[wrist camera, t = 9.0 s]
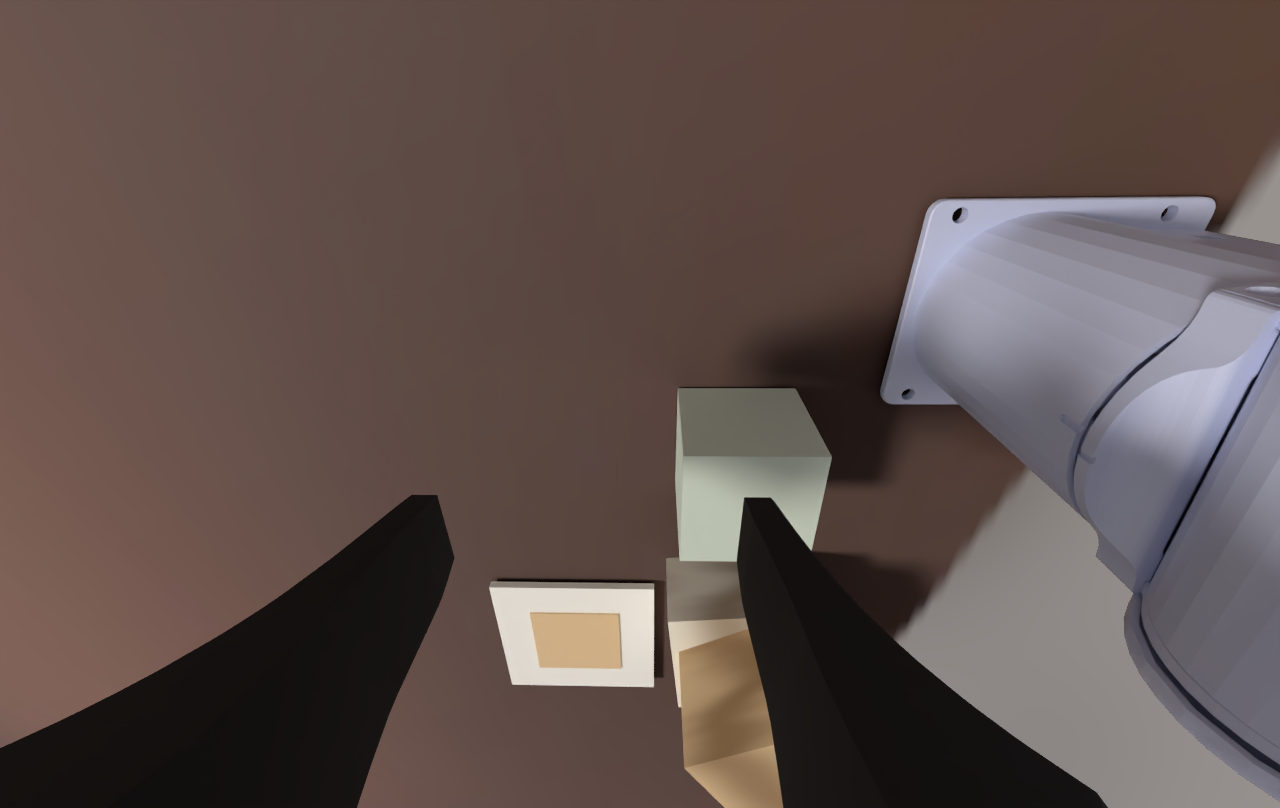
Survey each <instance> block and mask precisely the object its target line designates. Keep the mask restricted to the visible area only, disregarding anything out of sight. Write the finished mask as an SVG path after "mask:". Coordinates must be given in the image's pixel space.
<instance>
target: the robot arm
mask: <svg viewBox="0 0 1280 808" xmlns="http://www.w3.org/2000/svg"><path fill="white" fill-rule="evenodd" d="M1167 207H1168V210H1167V213H1166V214H1165V215H1164V216H1163V217H1162V218H1161V214H1162V212H1163V211H1164V210H1165V209H1166V208H1167ZM958 208H961V209H962V214H961V216H960V218H959V219H957V220H956V221H953V220H952V215H953V213H954V211H956V210H957V209H958ZM1215 208H1216V204H1215V201H1214V200H1213V199H1212V198H1208V197H1201V196H1158V197H1057V198H956V199H940V200H938V201H936V202H934V203H933V204H932V205H931V206H930V207H929V208H928V210H927V213H926V216H925V219H924V223H923V227H922V231H921V235H920V239H919V243H918V246H917V250H916V254H915V258H914V262H913V266H912V270H911V274H910V277H909V281H908V285H907V289H906V293H905V297H904V301H903V304H902V308H901V312H900V316H899V320H898V324H897V328H896V331H895V335H894V339H893V343H892V347H891V351H890V355H889V359H888V362H887V366H886V370H885V374H884V378H883V382H882V386H881V389H880V395H881V397H882V399H883V400H884V401H885V402H887V403H888V404H959V405H960V406H961V407H962V408H963V409H964V410H966V411H967V412H968V413H969V414H970V415H971V416H972V417H973V418H974V419H975V420H976V421H978V422H979V423H980V424H981V425H982V426H983V427H984V428H985V429H986V430H987V431H989V432H990V433H991V434H992V435H993V436H994V437H995V438H996V439H997V440H998V441H1000V442H1001V443H1002V444H1003V445H1004V446H1005V447H1006V448H1007V449H1008V450H1009V451H1011V452H1012V453H1013V454H1014V455H1015V456H1016V457H1017V458H1018V459H1019V460H1020V461H1021V462H1023V463H1024V464H1025V465H1026V466H1027V467H1028V468H1029V469H1030V470H1031V471H1032V472H1034V473H1035V474H1036V475H1037V476H1038V477H1039V478H1040V479H1041V480H1043V482H1045V483H1046V484H1047V485H1048V486H1049V487H1050V488H1051V489H1052V490H1053V491H1054V492H1056V493H1057V494H1058V495H1059V496H1060V497H1061V498H1062V499H1063V500H1064V501H1065V502H1066V503H1068V504H1069V505H1070V506H1071V507H1072V508H1073V509H1074V510H1075V511H1076V512H1077V513H1079V514H1080V515H1081V516H1082V517H1083V518H1084V519H1085V520H1086V521H1087V522H1088V523H1090V525H1091V526H1092V527H1093V528H1094V530H1095V531H1096V533H1097V535H1098V539H1099V546H1098V550H1097V553H1096V557H1097V558H1098V559H1099V560H1100V561H1101V562H1102V563H1103V564H1104V565H1105V566H1106V567H1107V568H1108V569H1109V570H1110V571H1112V573H1113V574H1114V575H1116V577H1118V578H1119V579H1120V580H1121V581H1122V582H1123V583H1124V584H1125V585H1126V586H1127V587H1128V588H1129V589H1130V590H1131V591H1132V592H1133V593H1134V594H1133V596H1132V598H1131V600H1130V602H1129V603H1128V606H1127V610H1126V613H1125V616H1124V635H1125V639H1126V643H1127V646H1128V650H1129V653H1130V656H1131V658H1132V659H1133V661H1134V663H1135V665H1136V667H1137V669H1138V671H1139V673H1140V675H1141V676H1142V678H1143V679H1144V681H1145V682H1146V683H1147V685H1148V686H1149V688H1150V689H1151V690H1152V692H1153V693H1154V695H1155V696H1156V697H1157V699H1158V700H1159V701H1160V702H1161V703H1162V704H1163V705H1164V706H1165V708H1166V709H1167V710H1168V711H1169V712H1170V713H1171V714H1172V715H1173V716H1174V717H1175V719H1176V720H1177V721H1178V722H1179V723H1180V724H1181V725H1182V726H1183V727H1184V728H1185V729H1186V730H1188V731H1189V732H1190V733H1191V734H1192V735H1193V736H1194V737H1195V738H1196V739H1197V740H1198V741H1199V742H1200V743H1202V744H1203V745H1204V746H1205V747H1206V748H1207V749H1208V750H1209V751H1211V752H1212V753H1213V754H1215V755H1216V756H1217V757H1219V758H1220V759H1221V760H1222V761H1223V762H1225V763H1226V764H1227V765H1228V766H1230V767H1231V768H1232V769H1234V770H1235V771H1236V772H1238V774H1240V775H1241V776H1242V777H1244V778H1245V779H1247V780H1248V781H1250V782H1251V783H1253V784H1254V785H1256V786H1257V787H1258V788H1260V789H1261V790H1263V791H1264V792H1266V793H1267V794H1269V795H1270V796H1272V797H1273V798H1275V799H1276V800H1278V801H1279V802H1280V245H1278V244H1273V243H1268V242H1262V241H1257V240H1252V239H1247V238H1241V237H1236V236H1231V235H1225V234H1220V233H1215V232H1210V231H1205V229H1206V227H1207V225H1208V223H1209V221H1210V219H1211V217H1212V215H1213V214H1214V211H1215ZM906 389H910V391H909V393H907V394H906V395H901V394H902V393H903V391H905V390H906ZM453 561H454V554H453V551H452V547H451V544H450V540H449V536H448V533H447V529H446V526H445V522H444V518H443V515H442V511H441V508H440V504H439V500H438V497H437V495H411V496H410V497H408V498H407V499H406V500H404V501H403V502H402V503H400V504H399V505H398V506H397V507H395V508H394V509H393V510H392V511H390V512H389V513H388V514H387V515H385V516H384V517H383V518H382V519H380V520H379V521H378V522H377V523H375V524H374V525H373V526H372V527H370V528H369V529H368V530H367V531H366V532H364V533H363V534H362V535H360V536H359V537H358V538H357V539H355V540H354V541H353V542H352V543H350V544H349V545H348V546H347V547H345V548H344V549H343V550H342V551H340V552H339V553H338V554H337V555H335V556H334V557H333V558H331V559H330V560H329V561H327V562H326V563H325V564H323V565H322V566H321V567H319V568H318V569H317V570H315V571H314V572H312V573H311V574H310V575H308V576H307V577H306V578H304V579H303V580H302V581H300V582H299V583H298V584H296V585H295V586H293V587H292V588H291V589H289V590H288V591H287V592H285V593H284V594H282V595H281V596H279V597H278V598H277V599H275V600H274V601H272V602H271V603H269V604H268V605H266V606H265V607H263V608H262V609H260V610H259V611H257V612H256V613H254V614H253V615H251V616H249V617H248V618H246V619H245V620H243V621H242V622H240V623H239V624H237V625H235V626H234V627H232V628H231V629H229V630H227V631H226V632H224V633H223V634H221V635H219V636H218V637H216V638H214V639H212V640H211V641H209V642H207V643H206V644H204V645H202V646H200V647H199V648H197V649H195V650H193V651H192V652H190V653H188V654H186V655H185V656H183V657H181V658H180V659H178V660H176V661H174V662H173V663H171V664H169V665H167V666H166V667H164V668H162V669H160V670H159V671H157V672H155V673H153V674H151V675H149V676H148V677H146V678H144V679H142V680H140V681H138V682H136V683H134V684H132V685H130V686H129V687H127V688H125V689H123V690H121V691H119V692H117V693H115V694H113V695H111V696H109V697H107V698H105V699H103V700H101V701H99V702H97V703H95V704H93V705H91V706H89V707H87V708H85V709H83V710H81V711H79V712H77V713H75V714H73V715H71V716H69V717H67V718H65V719H63V720H61V721H59V722H57V723H54V724H52V725H50V726H48V727H46V728H43V729H41V730H39V731H37V732H35V733H33V734H30V735H28V736H26V737H24V738H22V739H19V740H17V741H15V742H13V743H11V744H9V745H6V746H4V747H2V748H0V808H357V806H358V803H359V800H360V797H361V794H362V790H363V787H364V784H365V781H366V778H367V775H368V772H369V769H370V766H371V763H372V761H373V758H374V755H375V752H376V749H377V747H378V744H379V741H380V738H381V735H382V733H383V730H384V727H385V724H386V721H387V719H388V716H389V713H390V711H391V709H392V706H393V704H394V702H395V699H396V697H397V694H398V692H399V690H400V688H401V686H402V684H403V681H404V679H405V677H406V675H407V673H408V671H409V669H410V666H411V664H412V662H413V660H414V658H415V656H416V653H417V651H418V649H419V647H420V645H421V643H422V641H423V638H424V636H425V634H426V632H427V630H428V628H429V625H430V623H431V621H432V619H433V617H434V614H435V612H436V610H437V608H438V606H439V603H440V601H441V599H442V596H443V593H444V590H445V587H446V584H447V581H448V577H449V574H450V571H451V567H452V564H453ZM737 568H738V576H739V584H740V592H741V599H742V605H743V609H744V613H745V617H746V622H747V626H748V630H749V634H750V638H751V642H752V646H753V650H754V654H755V658H756V662H757V666H758V671H759V675H760V679H761V683H762V687H763V691H764V695H765V699H766V704H767V708H768V713H769V718H770V723H771V729H772V736H773V742H774V749H775V755H776V762H777V768H778V775H779V782H780V789H781V796H782V803H783V808H1108V807H1107V806H1106V804H1105V803H1104V802H1103V801H1102V799H1101V798H1100V796H1099V795H1098V794H1097V793H1096V792H1095V791H1094V790H1092V789H1090V788H1089V787H1088V786H1086V785H1085V784H1083V783H1082V782H1080V781H1079V780H1077V779H1076V778H1074V777H1073V776H1071V775H1069V774H1068V773H1067V772H1065V771H1064V770H1062V769H1061V768H1059V767H1058V766H1056V765H1055V764H1053V763H1052V762H1050V761H1049V760H1047V759H1046V758H1044V757H1043V756H1042V755H1040V754H1039V753H1037V752H1036V751H1034V750H1033V749H1031V748H1030V747H1028V746H1027V745H1025V744H1024V743H1022V742H1021V741H1019V740H1018V739H1017V738H1015V737H1014V736H1012V735H1011V734H1010V733H1008V732H1007V731H1006V730H1004V729H1003V728H1002V727H1000V726H999V725H998V724H996V723H995V722H994V721H992V720H991V719H990V718H988V717H987V716H986V715H984V714H983V713H981V712H980V711H979V710H977V709H976V708H975V707H973V706H972V705H971V704H970V703H968V702H967V701H966V700H965V699H963V698H962V697H961V696H959V695H958V694H957V693H956V692H955V691H953V690H952V689H951V688H950V687H948V686H947V685H946V684H945V683H944V682H942V681H941V680H940V679H939V678H937V677H936V676H935V675H934V674H933V673H931V672H930V671H929V670H928V669H926V668H925V667H924V666H923V665H922V664H921V663H919V662H918V661H917V660H916V659H915V658H913V657H912V656H911V655H910V654H909V653H908V652H907V651H906V650H905V649H904V648H902V647H901V646H900V645H899V644H898V643H897V642H896V641H895V640H894V639H893V638H892V637H891V636H890V635H888V634H887V633H886V632H885V631H884V630H883V629H882V628H881V627H880V626H879V625H878V624H877V623H876V622H875V621H874V620H873V619H872V618H871V617H870V616H869V615H868V614H867V613H866V612H865V611H864V610H863V609H862V608H861V607H860V606H859V605H858V604H857V603H856V601H855V600H854V599H853V598H852V597H851V596H850V595H849V594H848V593H847V592H846V591H845V590H844V588H843V587H842V586H841V585H840V584H839V583H838V582H837V581H836V579H835V578H834V577H833V576H832V575H831V574H830V573H829V571H828V570H827V569H826V568H825V567H824V565H823V564H822V563H821V562H820V561H819V559H818V558H817V557H816V556H815V554H814V553H813V552H812V551H811V550H810V548H809V547H808V546H807V545H806V543H805V542H804V541H803V539H802V538H801V537H800V535H799V534H798V533H797V532H796V530H795V529H794V528H793V526H792V525H791V524H790V522H789V521H788V519H787V518H786V517H785V515H784V514H783V513H782V511H781V510H780V508H779V507H778V505H777V504H776V503H775V501H774V500H773V499H772V498H771V497H744V503H743V511H742V519H741V528H740V536H739V545H738V553H737Z"/></svg>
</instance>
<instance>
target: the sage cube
mask: <svg viewBox="0 0 1280 808" xmlns="http://www.w3.org/2000/svg"><path fill="white" fill-rule="evenodd" d="M831 459H832V456H831V454H830V452H829V450H828V449H827V447H826V445H825V443H824V441H823V439H822V437H821V435H820V434H819V432H818V430H817V428H816V426H815V424H814V422H813V420H812V419H811V417H810V415H809V413H808V411H807V409H806V407H805V406H804V404H803V402H802V400H801V398H800V396H799V394H798V392H797V391H796V389H795V388H678V401H677V437H676V473H675V485H676V503H677V521H678V539H679V558H680V561H729V562H737V553H738V545H739V536H740V528H741V519H742V511H743V503H744V497H771V498H772V499H773V500H774V501H775V503H776V504H777V505H778V507H779V508H780V510H781V511H782V513H783V514H784V515H785V517H786V518H787V519H788V521H789V522H790V524H791V525H792V526H793V528H794V529H795V530H796V532H797V533H798V534H799V535H800V537H801V538H802V539H803V541H804V542H805V543H806V545H807V546H808V547H809V548H810V550H811V551H812V546H813V542H814V537H815V532H816V528H817V523H818V519H819V514H820V510H821V505H822V500H823V496H824V491H825V487H826V482H827V478H828V473H829V469H830V464H831Z"/></svg>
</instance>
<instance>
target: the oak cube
mask: <svg viewBox="0 0 1280 808" xmlns="http://www.w3.org/2000/svg"><path fill="white" fill-rule="evenodd" d="M679 666H680V687H681V708H682V729H683V750H684V768H685V769H686V770H687V771H688V772H689V773H690V774H691V775H692V776H693V777H694V778H695V779H696V780H697V781H698V782H699V783H700V784H701V785H702V786H703V787H704V788H705V789H706V790H707V791H708V792H709V793H710V794H711V795H712V796H713V797H714V798H715V799H716V800H717V801H718V802H719V803H720V804H722V805H723V806H724V807H725V808H783V803H782V796H781V789H780V782H779V775H778V768H777V762H776V755H775V749H774V742H773V736H772V729H771V723H770V718H769V713H768V708H767V704H766V699H765V695H764V691H763V687H762V683H761V679H760V675H759V671H758V666H757V662H756V658H755V654H754V650H753V646H752V642H751V638H750V634H749V630H748V629H746V630H743V631H740V632H737V633H734V634H731V635H728V636H725V637H722V638H719V639H716V640H713V641H710V642H707V643H704V644H701V645H698V646H695V647H692V648H689V649H686V650H683V651H680V652H679Z"/></svg>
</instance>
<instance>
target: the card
mask: <svg viewBox="0 0 1280 808" xmlns="http://www.w3.org/2000/svg"><path fill="white" fill-rule="evenodd" d="M489 589H490V593H491V597H492V601H493V605H494V610H495V614H496V618H497V622H498V626H499V631H500V635H501V639H502V643H503V647H504V652H505V656H506V660H507V664H508V668H509V673H510V677H511V681H512V685H569V686H625V687H654V583H574V582H491V584H490V587H489Z"/></svg>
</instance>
